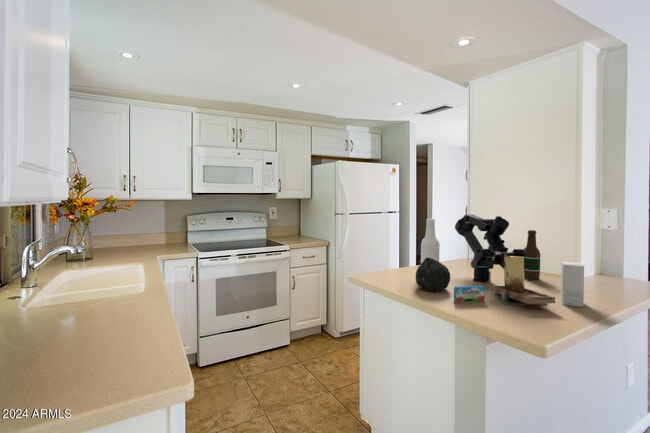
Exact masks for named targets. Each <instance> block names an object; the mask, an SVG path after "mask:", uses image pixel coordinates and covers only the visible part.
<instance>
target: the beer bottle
mask: <svg viewBox="0 0 650 433" xmlns="http://www.w3.org/2000/svg"><path fill="white" fill-rule="evenodd" d="M523 250H524V251H525V253H526V254H525V256H524V280H529V281H538V280H540V277H541V252H540V250H539V248H538V247H537V230H535V229H534V230H533V229H529V230H528V231H527V241H526V245H525V248H523Z"/></svg>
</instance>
